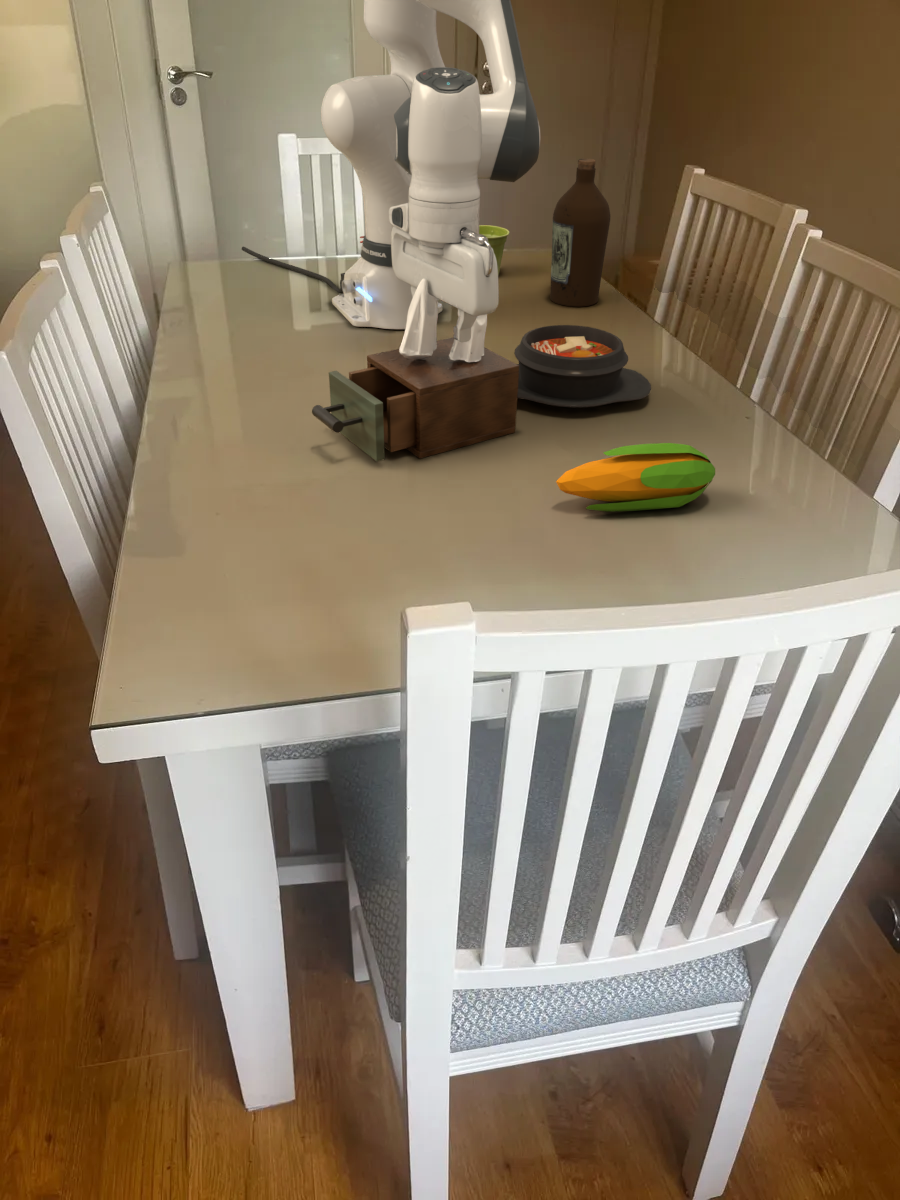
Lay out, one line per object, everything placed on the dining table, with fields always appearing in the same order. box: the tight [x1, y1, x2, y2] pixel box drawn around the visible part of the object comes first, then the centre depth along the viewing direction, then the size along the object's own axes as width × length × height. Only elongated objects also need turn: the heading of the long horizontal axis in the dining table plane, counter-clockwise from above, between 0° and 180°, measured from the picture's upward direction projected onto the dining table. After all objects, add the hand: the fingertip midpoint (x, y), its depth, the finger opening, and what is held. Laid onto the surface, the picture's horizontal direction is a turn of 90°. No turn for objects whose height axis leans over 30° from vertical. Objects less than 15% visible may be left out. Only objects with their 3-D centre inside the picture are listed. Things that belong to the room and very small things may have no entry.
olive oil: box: [549, 158, 611, 308], centre depth 171 cm, size 11×11×25 cm
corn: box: [555, 442, 716, 513], centre depth 110 cm, size 7×8×20 cm
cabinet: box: [366, 337, 519, 459], centre depth 127 cm, size 16×14×10 cm
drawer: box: [311, 367, 416, 462], centre depth 123 cm, size 19×13×8 cm, turn 123°
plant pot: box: [479, 224, 510, 276], centre depth 189 cm, size 9×9×9 cm
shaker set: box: [398, 278, 488, 362], centre depth 121 cm, size 12×4×11 cm, turn 99°
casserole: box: [513, 324, 652, 409], centre depth 138 cm, size 25×19×8 cm
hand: (442, 330), depth 122 cm, fingers open, 8 cm apart
